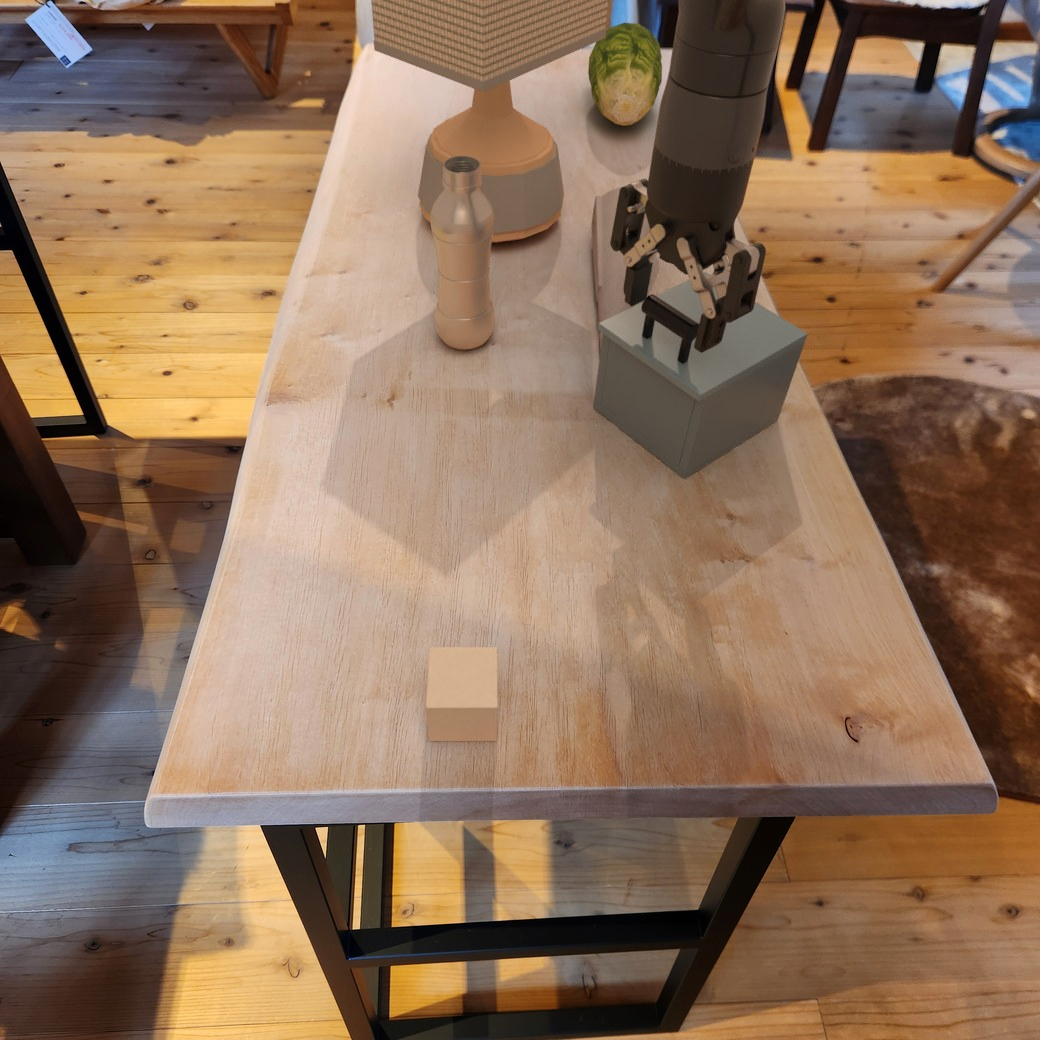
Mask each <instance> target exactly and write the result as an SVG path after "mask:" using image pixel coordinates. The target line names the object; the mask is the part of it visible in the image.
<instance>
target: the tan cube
mask: <svg viewBox="0 0 1040 1040" xmlns="http://www.w3.org/2000/svg"><path fill="white" fill-rule="evenodd" d="M498 653H499V651H498V647H497V646H430V647H428V661H427V662H428V664H427V677H426V678H427V679H426V692H425V693H426V695H425V696H426V697H425V715H426V726H427V735H428V741H429V742H497V740H498V721H499V720H498V718H499V716H498V715H499V674H498V673H499V667H498V666H499V664H498V663H499V661H498V658H499V657H498V656H499V655H498Z"/></svg>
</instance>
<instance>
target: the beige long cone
mask: <svg viewBox="0 0 1040 1040" xmlns="http://www.w3.org/2000/svg"><path fill="white" fill-rule="evenodd" d="M622 187H623V186H619V187H616V188H613V189H611V190H609V191H607V192H606V193H604V194H603V195H596V196H595V198H594V204H593V210H592V218H591V243H592V259H593V273H594V291H595V302H596V303H597V306H598V307H597V309H598V313H597V315H598V323H600V322H602V321H604V320H606V319H608V318H610V317H612V316H614V315H616V314H619V313H621V312H623V311H625V310H627V309H629V308H631V307H633V306H630V305H629V304H627V303H626V302H625V295H624V290H623V288H624V281H625V274H626V267H627V265H626V264H625V262H624V255H623V254H622V253H621V252H620V251H617V252H616V251H614V250H613V249H612V247H611V244H610V242H611V236H612V230H613V225H614V219H615V214H616V208H617V203H618V197H619V192H620V189H621V188H622ZM627 230H628V228H627ZM649 231H650V227H649V223H648V220H647V217H646V213H645V216H644V221H643V225H642V230H641V235H640V239H641V238H642V237H644V236H645V235H646V234H647V233H648V232H649ZM626 233H627V232H626ZM602 336H603V333H601V332H600V331H599V348H600V350H601V344H602Z"/></svg>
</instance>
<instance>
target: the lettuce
mask: <svg viewBox="0 0 1040 1040" xmlns="http://www.w3.org/2000/svg"><path fill="white" fill-rule="evenodd" d="M662 58H663V56H662V52H661V47H660V42H659V41H658V39H657V38H656V37H655V35H654V33H653V32H652V31H651V30H650V29H648V28H647V27H645V26H643V25H642V24H639V23H635V22H623V23H620V24H616V25H614V26H611V27H609V28H608V29H607V30H606V38H604V39H602V40H600V41H597V42H595V43H594V46H593V48H592V50H591V52H590V55H589V57H588V71H587V72H588V81H589V84H590V91H591V97H592V99H593V101H594V103H595V104H596V105H595V106H596V107H597V109H598V111H599V113H600V114H601V115H603V116H604V117H605V118H606V119H607V120H609V121H610V122H612V123H614V124H615V125H618V126H623V127H624V126H631V125H634V124H635V123H638V122H639V121H640V120H642V119H643V118H645V116H646V115H647V114H648V113H649V112H650V111H651V110H652V108H653V106H655V102H656V100H657V97H658V94H659V91H660V87H661V84H662V80H663V64H662V63H663V62H662Z"/></svg>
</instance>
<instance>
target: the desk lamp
mask: <svg viewBox="0 0 1040 1040" xmlns="http://www.w3.org/2000/svg"><path fill="white" fill-rule="evenodd" d="M370 2H371V3H370V4H371V14H372V26H373V37H374V40H373V50H374V51H375V52H377V53H380V54H383V55H385V56H388V57H390V58H393V59H396V60H398V61H401V62H404V63H405V64H409V65H412V66H414V67H416V68H419V69H422V70H423V71H424V70H425V71H427V72H430V73H432V74H434V75H438V76H440V77H443V78H446V79H448V80H451V81H453V82H455V83H458V84H460V85H463V86H466V87H469V88H471V89H474V90H473V95H472V102H471V106H470V107H468V108H467V109H464V110H463V111H461V112H459V113H458V114H456V115H454V116H452V117H450V118H447V119H446V120H444V121H442V122H441V123H440V124H438V125H437V126H435V127H433V130H432V132H431V134H429V137H428V139H427V142H426V144H425V149H424V155H423V160H422V161H423V162H422V167H421V174H420V179H419V186H418V192H417V197H418V199H419V207H420V209H421V212H422V214H423V216H424V219H425V220H427V221H428V222H430V215H431V211H432V207H433V205H434V203H435V201H436V200H437V198H438V197H439V195H440V194H441V193H442V191H443V190H444V189H445V188H444V187H443V185H442V177H443V163H444V162H445V161H446V160H447V159H449V158H451V157H455V156H470V157H473V158H476V159H477V160H479V161H480V163H481V176H482V185H481V187H480V189H481V190H482V192H483V193H484V194H485V195H486V197H487V199H488V200H489V202H490V203H491V205H492V208H493V211H494V215H495V223H494V230H493V237H492V243H505V242H512V241H517V240H523V239H525V238H528V237H531V236H533V235H536V234H538V233H541V232H543V231H547V230H548V229H549V228H550V227H551V226H552V225H554V223H555V222H557V220H558V219H559V218H561V216H562V215H561V214H562V209H563V204H564V203H563V202H564V197H565V191H564V185H563V177H562V169H561V162H560V155H559V148H558V144H557V143H556V141H555V139H554V136H552V134H551V132H550V131H549V129H548V128H547V127H546V126H544V125H542V124H540V123H538V122H537V121H535V120H533V119H532V118H530V117H528V116H527V115H526V114H523V113H522V112H521V111H519V110H517V109H516V108H514V105H513V103H514V102H513V96H512V88H511V87H512V86H511V80H514V79H516V78H518V77H521V76H523V75H525V74H527V73H529V72H532V71H535V70H536V69H538V68H541V67H544V66H546V65H548V64H550V63H552V62H555V61H557V60H559V59H562V58H564V57H566V56H568V55H570V54H572V53H574V52H577V51H579V50H582V49H584V48H586V47H588V46H590V45H593V44H596V42H597V41H600V40H602V39H604V38H606V31H607V30H608V29H607V18H608V9H609V0H370Z"/></svg>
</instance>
